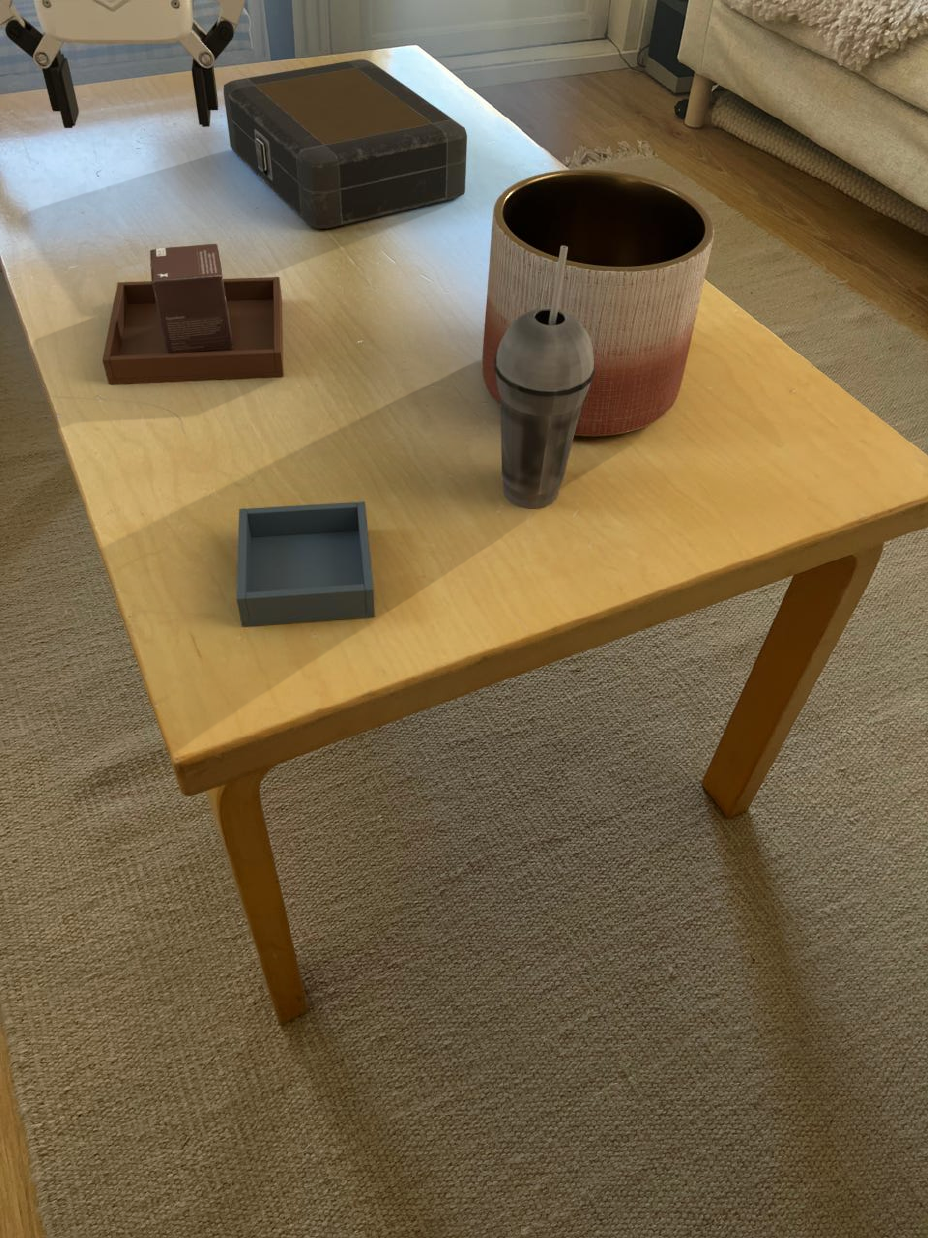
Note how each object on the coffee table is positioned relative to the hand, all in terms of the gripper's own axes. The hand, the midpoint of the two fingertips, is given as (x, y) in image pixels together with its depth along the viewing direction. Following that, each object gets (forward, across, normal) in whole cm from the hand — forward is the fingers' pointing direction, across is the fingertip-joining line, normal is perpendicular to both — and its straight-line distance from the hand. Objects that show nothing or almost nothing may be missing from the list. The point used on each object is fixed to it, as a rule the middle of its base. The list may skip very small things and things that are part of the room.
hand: (139, 120), depth 74 cm
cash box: (+21, +16, +40) cm, 48 cm away
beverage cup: (+22, +28, -20) cm, 40 cm away
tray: (+21, +1, +5) cm, 22 cm away
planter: (+21, +35, -6) cm, 41 cm away
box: (+21, +1, +5) cm, 21 cm away
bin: (+22, +10, -27) cm, 36 cm away
